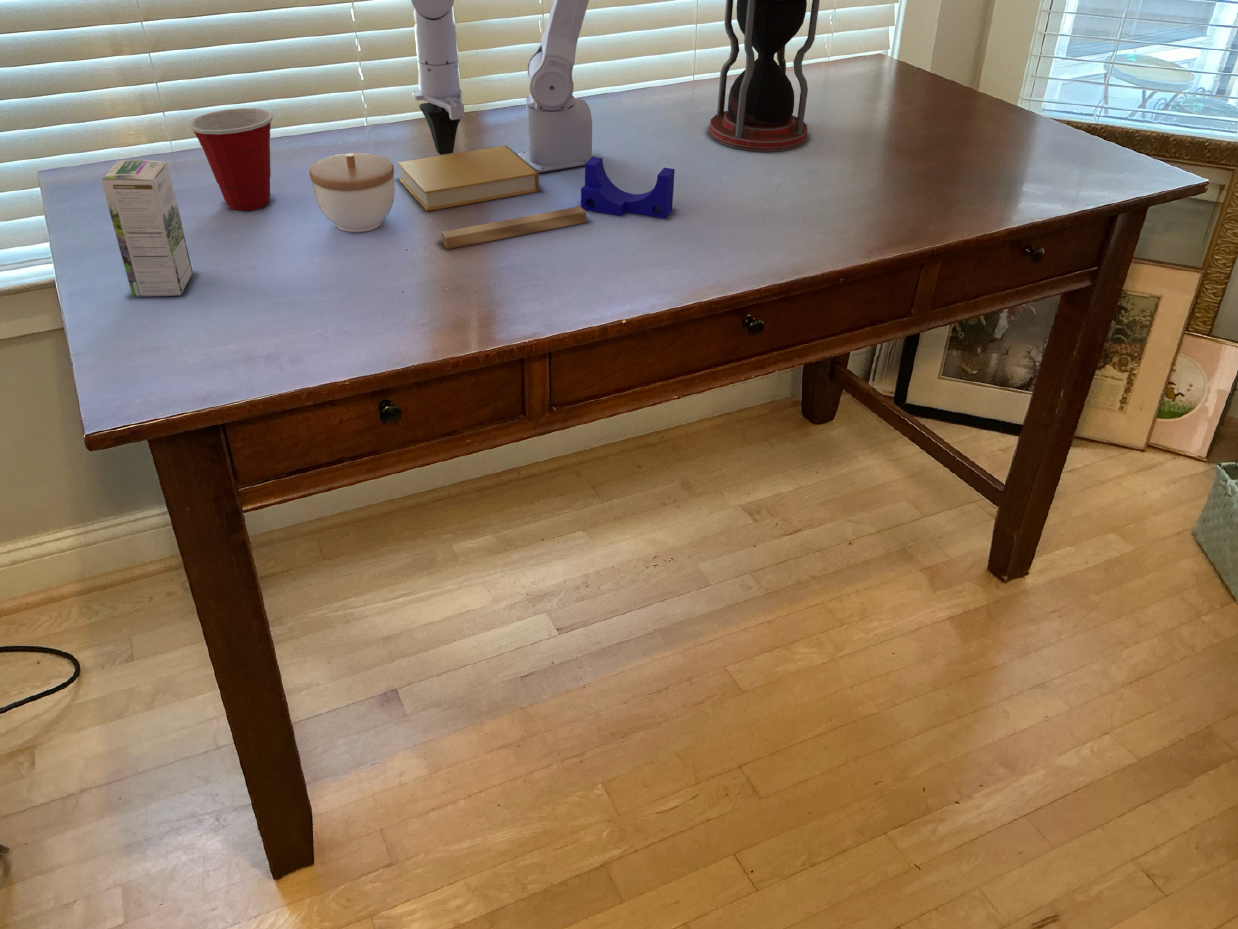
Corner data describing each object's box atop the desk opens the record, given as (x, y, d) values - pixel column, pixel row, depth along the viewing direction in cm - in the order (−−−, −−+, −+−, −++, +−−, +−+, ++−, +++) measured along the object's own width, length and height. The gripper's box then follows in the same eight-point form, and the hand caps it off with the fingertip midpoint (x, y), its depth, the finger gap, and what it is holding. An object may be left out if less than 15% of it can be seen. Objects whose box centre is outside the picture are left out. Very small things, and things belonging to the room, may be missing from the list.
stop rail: (580, 216, 142) (580, 205, 141) (586, 222, 140) (586, 211, 139) (442, 242, 134) (441, 231, 133) (447, 249, 133) (446, 237, 132)
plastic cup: (263, 181, 149) (247, 97, 142) (303, 203, 143) (288, 117, 136) (192, 200, 143) (172, 114, 136) (230, 225, 137) (211, 136, 129)
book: (507, 163, 157) (506, 145, 155) (539, 191, 148) (538, 172, 147) (399, 180, 150) (397, 161, 149) (426, 211, 142) (424, 191, 140)
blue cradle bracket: (580, 209, 144) (581, 167, 140) (592, 197, 147) (592, 156, 144) (662, 222, 141) (664, 180, 137) (672, 210, 144) (674, 168, 141)
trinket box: (381, 243, 133) (372, 174, 128) (304, 234, 135) (292, 165, 129) (411, 211, 142) (404, 144, 136) (338, 203, 143) (328, 136, 138)
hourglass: (822, 130, 172) (846, -32, 156) (780, 159, 161) (801, -13, 145) (736, 111, 178) (751, -46, 163) (691, 138, 167) (702, -29, 152)
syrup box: (146, 275, 125) (113, 159, 116) (195, 274, 125) (167, 158, 117) (132, 297, 120) (97, 178, 112) (184, 296, 121) (153, 178, 112)
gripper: (395, 49, 151) (404, 140, 159) (427, 77, 140) (435, 173, 149) (440, 44, 153) (447, 134, 162) (475, 71, 143) (481, 165, 151)
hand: (445, 152), depth 155 cm, fingers closed
